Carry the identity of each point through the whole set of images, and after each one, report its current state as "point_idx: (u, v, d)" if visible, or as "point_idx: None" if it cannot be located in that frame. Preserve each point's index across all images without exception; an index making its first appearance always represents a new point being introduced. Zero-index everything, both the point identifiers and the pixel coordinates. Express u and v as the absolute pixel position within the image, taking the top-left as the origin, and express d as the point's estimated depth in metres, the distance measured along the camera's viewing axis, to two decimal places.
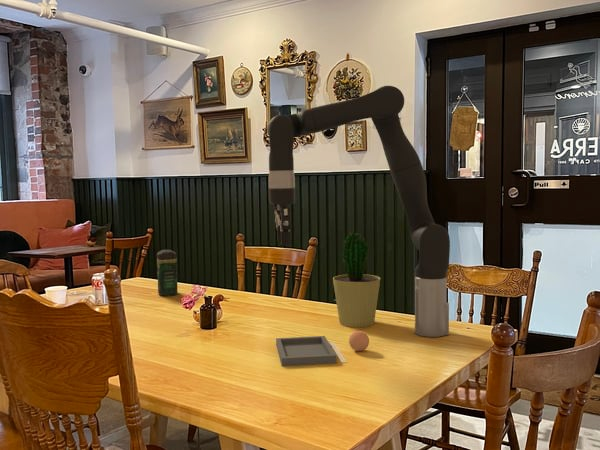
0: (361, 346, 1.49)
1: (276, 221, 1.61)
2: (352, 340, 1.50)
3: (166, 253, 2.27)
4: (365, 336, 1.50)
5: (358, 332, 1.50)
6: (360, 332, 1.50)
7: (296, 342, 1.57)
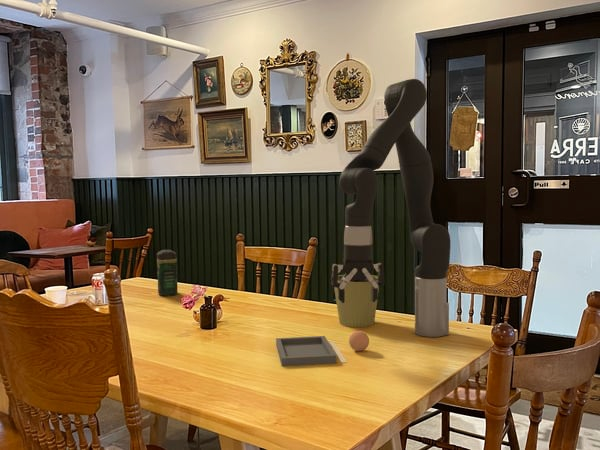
0: (361, 346, 1.49)
1: (349, 280, 1.48)
2: (352, 340, 1.50)
3: (166, 253, 2.27)
4: (365, 336, 1.50)
5: (358, 332, 1.50)
6: (360, 332, 1.50)
7: (296, 342, 1.57)
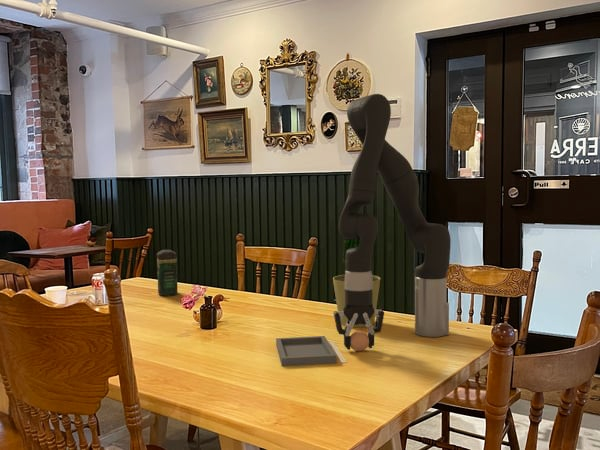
0: (361, 346, 1.49)
1: (353, 325, 1.49)
2: (352, 340, 1.50)
3: (166, 253, 2.27)
4: (365, 336, 1.50)
5: (358, 332, 1.50)
6: (360, 332, 1.50)
7: (296, 342, 1.57)
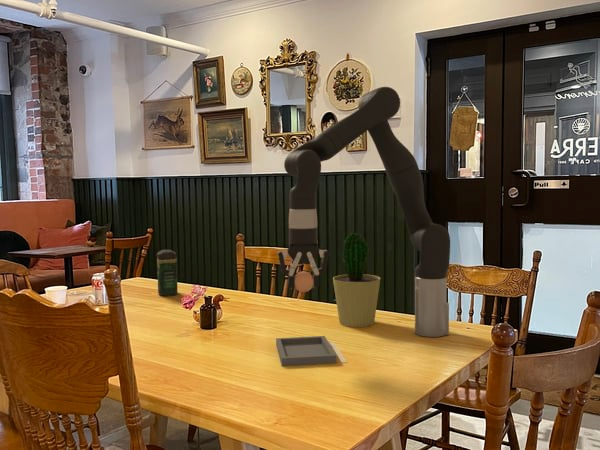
0: (304, 286, 1.46)
1: None
2: (296, 280, 1.46)
3: (166, 253, 2.27)
4: (309, 276, 1.47)
5: (302, 272, 1.47)
6: (304, 272, 1.47)
7: (296, 342, 1.57)
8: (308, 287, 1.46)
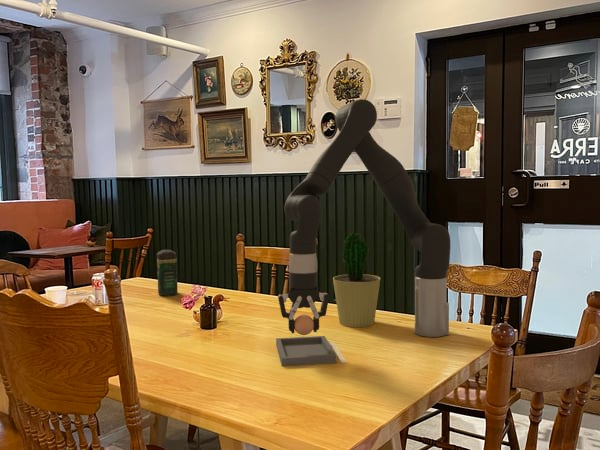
0: (304, 330, 1.47)
1: None
2: (296, 323, 1.47)
3: (166, 253, 2.27)
4: (309, 320, 1.48)
5: (302, 316, 1.48)
6: (304, 316, 1.48)
7: (296, 342, 1.57)
8: (308, 330, 1.47)
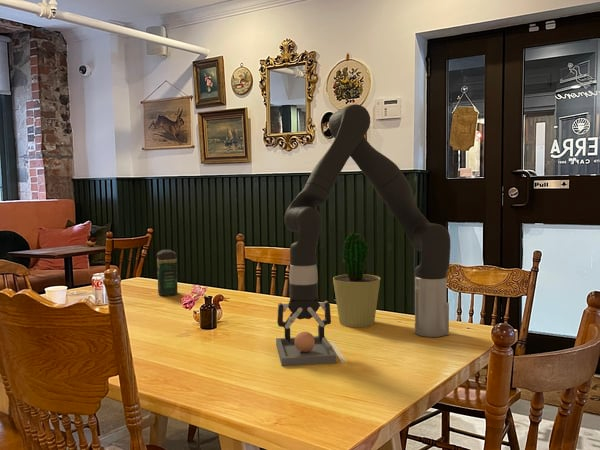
0: (305, 347, 1.47)
1: None
2: (297, 341, 1.48)
3: (166, 253, 2.27)
4: (310, 337, 1.48)
5: (303, 333, 1.49)
6: (305, 333, 1.48)
7: None
8: (309, 348, 1.48)
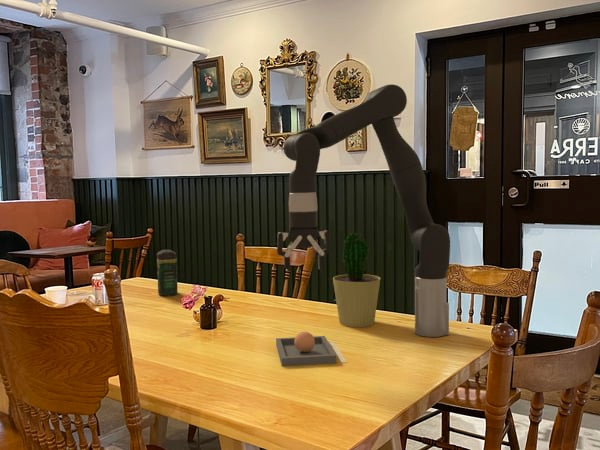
0: (305, 347, 1.47)
1: (294, 248, 1.46)
2: (297, 341, 1.48)
3: (166, 253, 2.27)
4: (310, 337, 1.48)
5: (303, 333, 1.48)
6: (305, 333, 1.48)
7: None
8: (309, 348, 1.48)
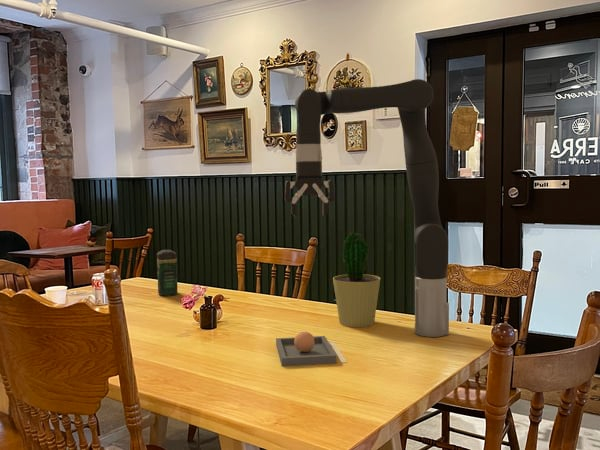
0: (305, 347, 1.47)
1: None
2: (297, 341, 1.48)
3: (166, 253, 2.27)
4: (310, 337, 1.48)
5: (303, 333, 1.48)
6: (305, 333, 1.48)
7: None
8: (309, 348, 1.48)
